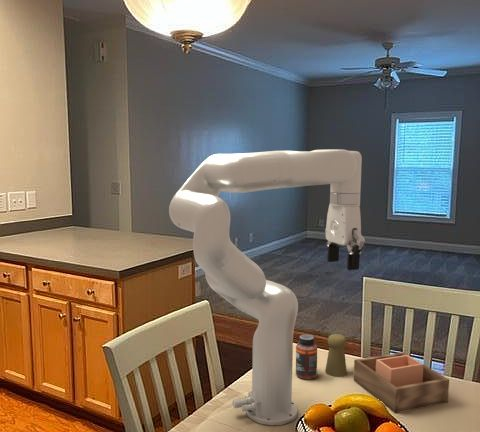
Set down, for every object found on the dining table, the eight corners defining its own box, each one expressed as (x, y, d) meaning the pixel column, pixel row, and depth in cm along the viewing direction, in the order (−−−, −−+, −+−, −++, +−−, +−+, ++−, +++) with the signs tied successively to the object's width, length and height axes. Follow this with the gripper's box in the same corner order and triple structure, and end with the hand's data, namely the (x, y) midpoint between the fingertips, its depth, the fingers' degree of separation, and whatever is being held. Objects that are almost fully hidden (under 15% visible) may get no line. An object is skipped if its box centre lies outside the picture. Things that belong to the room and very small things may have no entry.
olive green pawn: (346, 378, 135) (348, 340, 134) (324, 376, 136) (326, 338, 135) (346, 368, 141) (347, 332, 140) (325, 366, 142) (326, 330, 141)
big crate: (394, 413, 117) (395, 389, 116) (353, 380, 134) (354, 359, 133) (447, 402, 122) (449, 379, 122) (401, 372, 139) (402, 352, 138)
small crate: (389, 395, 123) (391, 369, 122) (374, 384, 129) (376, 359, 128) (422, 389, 127) (423, 364, 126) (405, 379, 133) (407, 354, 132)
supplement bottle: (320, 374, 138) (321, 335, 136) (311, 382, 133) (312, 342, 131) (301, 369, 141) (301, 331, 139) (291, 376, 136) (292, 337, 134)
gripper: (315, 197, 131) (313, 259, 133) (350, 203, 114) (348, 274, 117) (340, 196, 133) (337, 257, 135) (377, 202, 117) (374, 271, 119)
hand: (342, 265), depth 126 cm, fingers open, 9 cm apart
